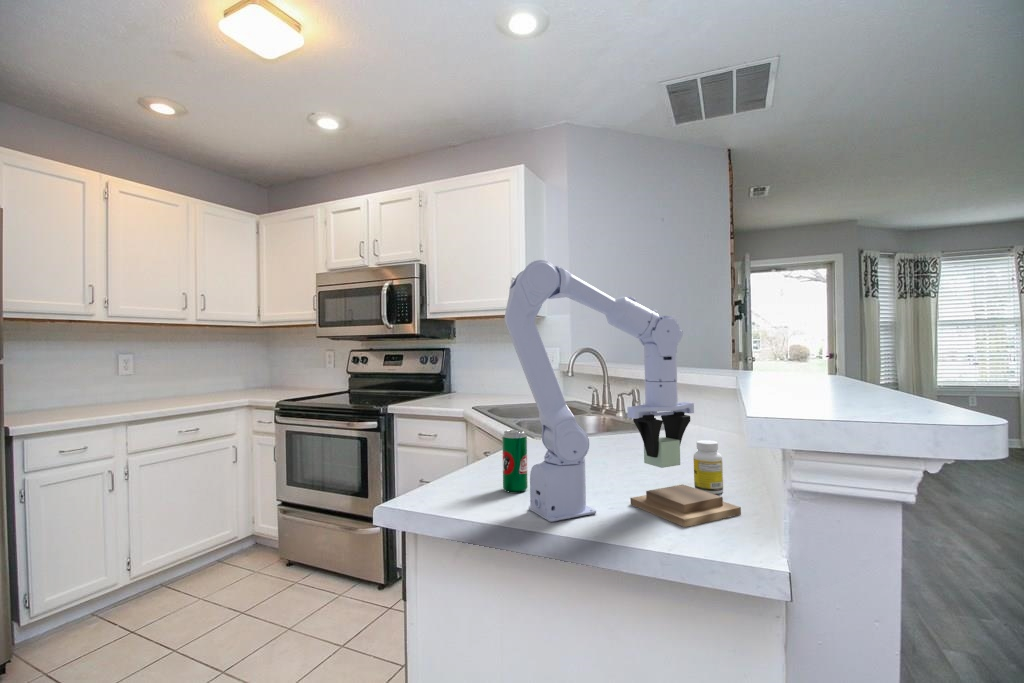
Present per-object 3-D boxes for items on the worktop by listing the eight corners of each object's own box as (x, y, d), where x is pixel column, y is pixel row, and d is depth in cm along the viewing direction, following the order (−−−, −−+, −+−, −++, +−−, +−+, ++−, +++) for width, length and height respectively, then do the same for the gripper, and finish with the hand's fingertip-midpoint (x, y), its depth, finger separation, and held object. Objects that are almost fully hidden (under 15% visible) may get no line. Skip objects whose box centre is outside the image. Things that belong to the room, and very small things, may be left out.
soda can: (525, 494, 94) (524, 433, 94) (500, 493, 95) (499, 433, 95) (529, 487, 99) (528, 429, 99) (505, 486, 100) (505, 429, 100)
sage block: (661, 467, 84) (661, 442, 84) (644, 462, 88) (643, 438, 88) (680, 464, 86) (679, 440, 86) (662, 460, 90) (661, 436, 90)
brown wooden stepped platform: (684, 527, 75) (684, 510, 75) (630, 504, 86) (630, 489, 86) (740, 514, 80) (740, 498, 80) (682, 494, 92) (682, 480, 92)
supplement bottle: (698, 485, 98) (696, 438, 98) (726, 489, 95) (724, 441, 95) (691, 492, 94) (689, 442, 94) (720, 496, 91) (718, 445, 91)
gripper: (673, 378, 94) (675, 447, 93) (615, 381, 87) (617, 455, 87) (702, 380, 88) (704, 453, 87) (642, 383, 81) (644, 462, 81)
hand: (662, 455), depth 87 cm, fingers closed on sage block, 4 cm apart
